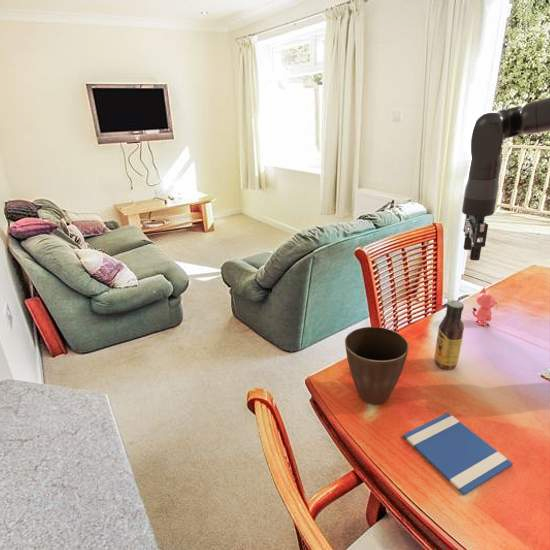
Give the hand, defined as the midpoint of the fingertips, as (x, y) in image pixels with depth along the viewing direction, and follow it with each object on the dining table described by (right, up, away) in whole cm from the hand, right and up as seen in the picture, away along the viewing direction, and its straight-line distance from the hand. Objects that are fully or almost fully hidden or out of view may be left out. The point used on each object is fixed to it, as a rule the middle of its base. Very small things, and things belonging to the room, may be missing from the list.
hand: (470, 254), depth 103 cm
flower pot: (-29, -37, -6) cm, 47 cm away
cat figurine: (+16, -22, +23) cm, 36 cm away
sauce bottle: (-5, -31, +4) cm, 32 cm away
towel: (-15, -43, -23) cm, 51 cm away
